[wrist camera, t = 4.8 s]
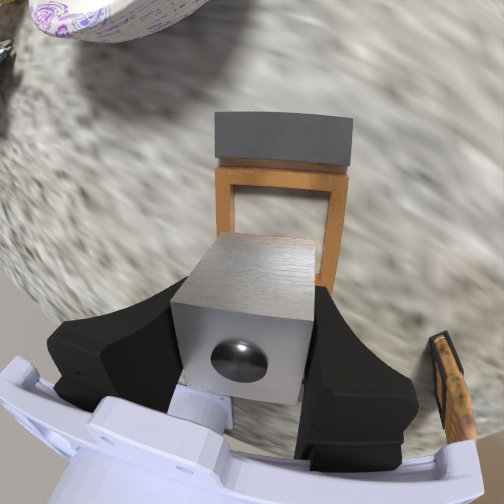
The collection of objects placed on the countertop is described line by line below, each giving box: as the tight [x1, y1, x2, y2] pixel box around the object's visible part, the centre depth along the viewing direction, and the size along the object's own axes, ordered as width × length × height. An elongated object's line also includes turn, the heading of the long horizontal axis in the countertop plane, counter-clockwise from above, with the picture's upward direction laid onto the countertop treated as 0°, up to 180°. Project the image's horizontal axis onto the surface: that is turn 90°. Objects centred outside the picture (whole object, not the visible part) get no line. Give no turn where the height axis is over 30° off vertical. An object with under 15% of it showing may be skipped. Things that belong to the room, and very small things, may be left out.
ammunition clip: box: [430, 331, 477, 445], centre depth 18 cm, size 11×2×12 cm, turn 28°
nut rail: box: [215, 112, 353, 401], centre depth 22 cm, size 8×26×1 cm, turn 179°
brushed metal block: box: [170, 232, 315, 405], centre depth 12 cm, size 4×4×6 cm
